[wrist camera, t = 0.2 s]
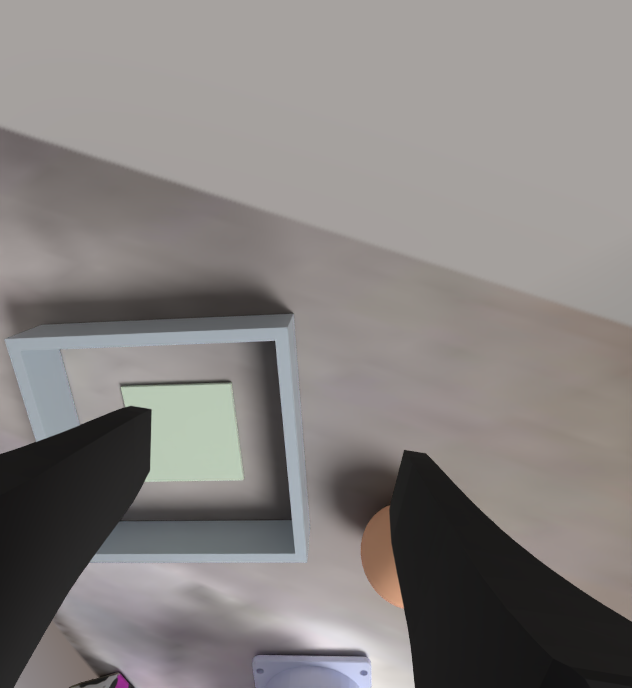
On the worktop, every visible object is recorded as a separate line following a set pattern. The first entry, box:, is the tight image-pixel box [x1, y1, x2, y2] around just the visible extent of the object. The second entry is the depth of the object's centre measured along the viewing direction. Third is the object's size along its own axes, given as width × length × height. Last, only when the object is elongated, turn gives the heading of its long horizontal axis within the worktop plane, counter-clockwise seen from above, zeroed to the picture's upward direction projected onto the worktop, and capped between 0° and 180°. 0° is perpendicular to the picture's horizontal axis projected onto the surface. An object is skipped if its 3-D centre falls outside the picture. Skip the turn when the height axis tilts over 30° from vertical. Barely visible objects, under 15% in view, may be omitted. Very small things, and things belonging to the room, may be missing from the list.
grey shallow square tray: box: [5, 314, 310, 563], centre depth 22 cm, size 13×13×2 cm
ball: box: [361, 505, 404, 608], centre depth 21 cm, size 5×5×5 cm
